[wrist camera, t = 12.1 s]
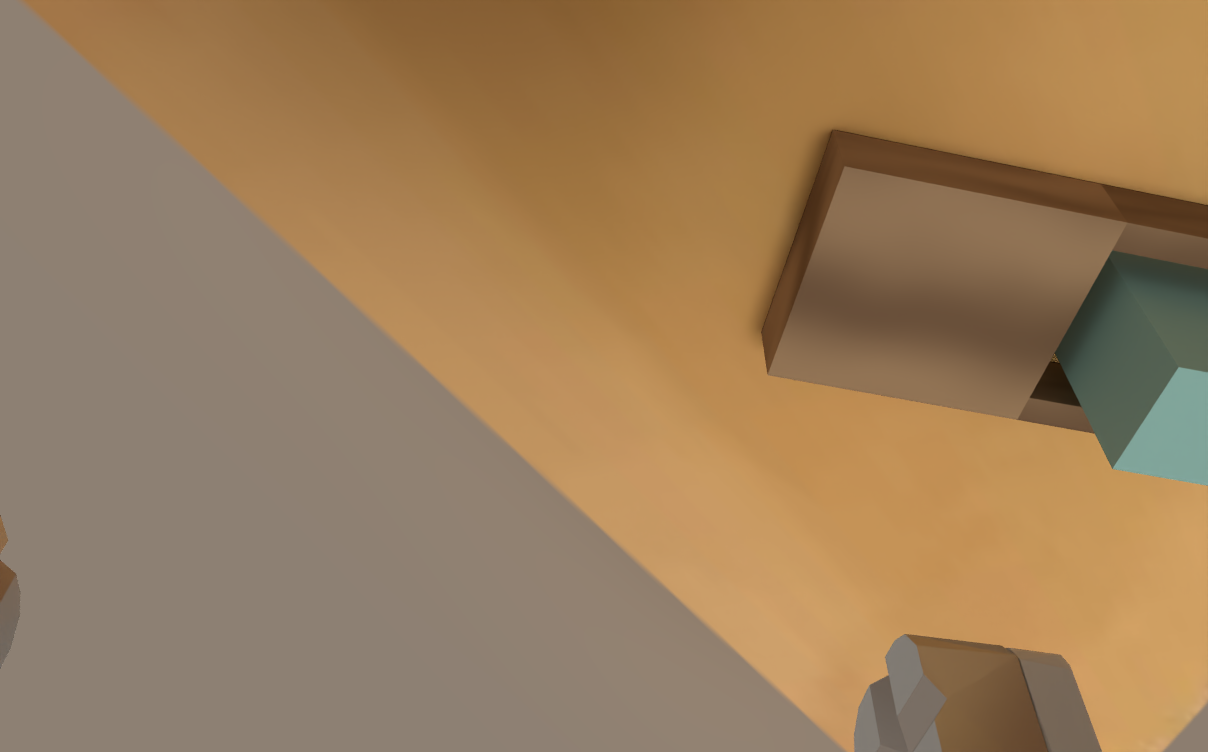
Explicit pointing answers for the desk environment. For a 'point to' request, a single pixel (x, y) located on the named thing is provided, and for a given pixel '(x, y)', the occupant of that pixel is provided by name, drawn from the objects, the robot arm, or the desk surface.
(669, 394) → the desk surface
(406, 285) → the desk surface
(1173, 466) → the teal square prism
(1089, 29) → the desk surface
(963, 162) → the brown frame
